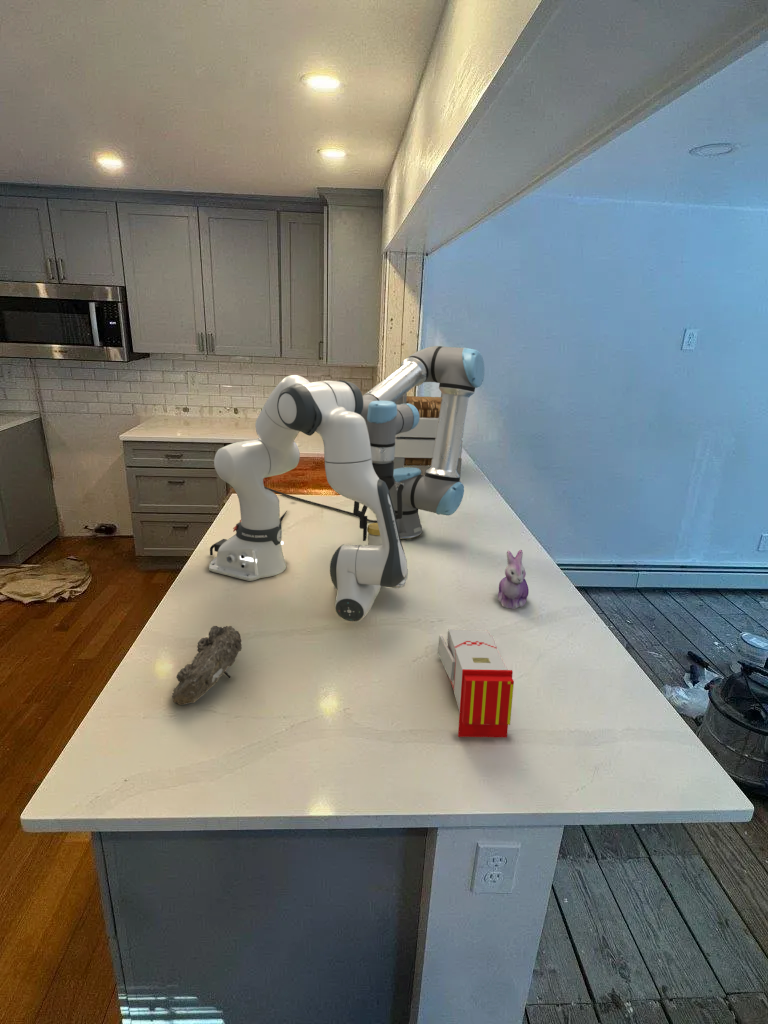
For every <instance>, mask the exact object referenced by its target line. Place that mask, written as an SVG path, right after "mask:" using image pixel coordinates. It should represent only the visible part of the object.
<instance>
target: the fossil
mask: <svg viewBox="0 0 768 1024" xmlns="http://www.w3.org/2000/svg"><path fill="white" fill-rule="evenodd" d="M242 645H243V644H242V638H241V633H240V631H239V630H236V629H235V628H234V627H233V626H232V625H225V626H223V627H222V626H218V625H213V626H212V627H210V630H209V631H208V637H207V636H205V637H201V638H200V639H199V640H198V642H197V645H196V649H197V650H196V651H197V653H196V654H195V656H194V658H193V659H192V662H191V663H187V664H185V666H184V667H182V668H180V670H179V671H178V673H177V675H176V679H177V681H178V684H177V685H176V686H175V687H174V688H173V690H172V693H171V694H172V702H173V703H175V704H178V705H180V706H182V705H187V704H191V703H192V704H195V703H196V702H197V701H198V700H199V699H200V698H201V697H202V696H204V695H205V694H207V692H208V691H209V690H210V689H211V688H212V687H213V686H215V685H216V684H217V683H218V681H219V679H220V677H223V675H225V676H226V677H227V678H228V679H231V678H232V676H231V675H230V674H229V673H228V671H227V669H228V668H229V667H231V666H232V665H233V664H234V663H235V661H236V659H237V657H238V655H239V653H240V652H241V651H242V649H243V648H242V647H243V646H242Z"/></svg>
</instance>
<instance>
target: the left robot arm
mask: <svg viewBox="0 0 768 1024" xmlns="http://www.w3.org/2000/svg"><path fill="white" fill-rule="evenodd" d="M362 410H363V393H362V390H361V389H360V388H359V386H358V385H356V384H355V383H353V382H351V381H347V380H341V379H339V380H317V381H309V380H308V379H307V378H305V377H303V376H301V375H297V374H291V375H290V374H289V375H287V376H285V377H283V378H282V379H281V380H280V382H279V383H278V384H277V385H276V386H275V387H274V389H273V390H271V393H270V394H269V396H268V397H267V399H266V401H265V403H264V405H263V406H262V408H261V411H260V412H259V414H258V416H257V418H256V420H255V424H254V425H255V432H256V434H257V436H258V438H254V439H249V440H243V441H237V442H233V443H230V444H227V445H225V446H222V447H220V448H218V449H217V451H216V453H215V455H214V460H213V466H214V470H215V472H216V474H217V476H218V477H219V478H220V480H222V481H223V482H225V483H226V484H228V485H230V486H231V488H232V489H233V490H234V492H235V493H236V495H237V498H238V502H239V511H240V512H239V513H240V520H239V521H238V522H237V523H236V524H235V526H234V527H233V528H232V529H233V533H234V532H235V534H233V535H232V536H231V537H229V538H228V539H227V538H222V539H221V540H219V541H217V542H215V543H214V544H212V545H211V546H210V547H209V556H214V552H217V553H216V556H215V557H214V558H213V559H212V560H211V561H210V562H209V564H208V565H209V566H208V570H209V572H213V573H217V574H220V575H223V576H224V575H225V576H228V577H232V578H236V579H239V580H244V581H248V582H252V581H256V580H259V579H263V578H269V577H273V576H277V575H279V574H281V573H283V572H284V571H285V570H286V569H287V563H286V560H285V556H284V552H283V547H282V545H284V541H283V528H282V521H281V522H280V518H281V515H280V514H281V513H280V512H281V511H280V508H281V507H280V506H281V505H280V499H279V497H278V495H277V493H275V492H272V491H270V490H268V489H265V488H264V487H265V485H264V479H265V478H270V477H274V476H279V475H283V474H286V473H288V472H290V471H292V470H294V469H296V468H297V466H298V465H299V463H300V459H301V452H300V448H299V446H298V444H297V443H296V441H295V440H296V438H297V436H299V433H300V432H301V433H303V434H305V435H307V436H312V435H314V434H315V432H316V433H317V434H318V435H319V436H320V437H321V440H322V443H323V457H324V471H325V477H326V480H327V484H328V485H329V486H330V488H331V489H332V490H333V491H335V493H337V494H339V495H340V496H342V497H343V498H346V499H348V500H351V501H356V502H359V504H361V505H363V506H364V505H365V506H367V507H368V508H367V509H369V510H370V511H371V512H372V513H373V514H374V516H375V519H376V520H377V523H378V527H379V532H380V536H381V540H382V545H379V546H378V545H368V544H345V543H344V544H341V545H340V546H339V547H338V548H337V549H336V550H335V551H334V553H333V554H332V556H331V559H330V563H329V574H330V580H331V583H332V584H333V588H334V589H335V590H336V597H335V602H334V610H335V612H336V614H337V615H338V617H340V619H343V620H344V621H347V622H359V621H361V620H363V619H364V618H365V617H366V616H367V615H368V614H369V612H370V611H371V609H372V608H373V605H374V603H375V601H376V598H377V597H378V595H379V592H380V591H381V588H382V587H383V588H390V589H400V588H402V587H405V585H406V584H407V581H408V576H409V569H408V560H407V556H406V554H405V550H404V547H403V543H402V540H400V535H399V531H398V526H397V522H396V517H395V513H394V508H393V504H392V500H391V496H390V493H389V490H388V487H387V485H386V483H385V482H384V481H382V480H381V479H379V478H378V476H377V475H376V473H375V471H374V468H373V465H372V457H371V446H370V439H369V434H368V429H367V426H366V422H365V420H364V418H363V417H362V416H361V413H362Z"/></svg>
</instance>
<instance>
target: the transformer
mask: <svg viewBox="0 0 768 1024" xmlns="http://www.w3.org/2000/svg"><path fill="white" fill-rule="evenodd" d="M440 393H441V394H440V396H415V395H414V396H413V395H412V396H411V395H407V394H408V392H407V393H406V394H404V395H403V396H402V397H401V398H400V399H398V400H397V401H396V402H395V403H396V404H397V405H400V404H403V403H404V404H412V405H414V406H415V407H416V408H417V410H418V412H419V422H418V424H417V426H416V427H415V428H413V429H411V430H410V431H407V432H403V433H399V434H396V435H395V455H394V460H393V462H394V469H397V468H405V466H406V467H409V466H411V467H417V466H418V467H431V462H432V456H433V450H434V444H435V438H436V431H437V425H438V419H439V413H440V407H441V401H442V392H441V391H440ZM464 429H465V428H464ZM464 429H463V433H464V431H465V430H464ZM463 438H464V434H463V435H462V440H461V446H460V452H459V458H458V464H457V470H456V471H457V473H458V474H459V476H460V477H461V472H462V461H463V460H462V453H463V442H464V441H463ZM459 482H461V479H460V480H459Z"/></svg>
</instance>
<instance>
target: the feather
mask: <svg viewBox="0 0 768 1024" xmlns="http://www.w3.org/2000/svg"><path fill="white" fill-rule="evenodd" d="M287 512H288V510H286V511H285V512H284V513H283V514H282V515H281V516H280V522H281V523H282V522H283V519H284V518H285V516H286V514H287Z"/></svg>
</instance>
